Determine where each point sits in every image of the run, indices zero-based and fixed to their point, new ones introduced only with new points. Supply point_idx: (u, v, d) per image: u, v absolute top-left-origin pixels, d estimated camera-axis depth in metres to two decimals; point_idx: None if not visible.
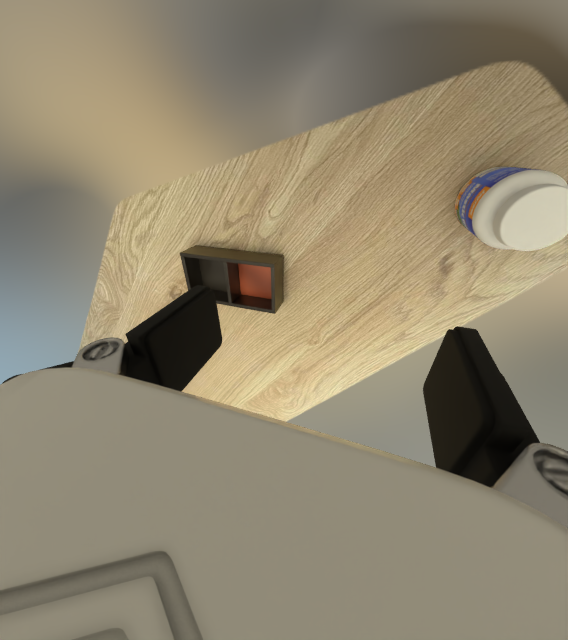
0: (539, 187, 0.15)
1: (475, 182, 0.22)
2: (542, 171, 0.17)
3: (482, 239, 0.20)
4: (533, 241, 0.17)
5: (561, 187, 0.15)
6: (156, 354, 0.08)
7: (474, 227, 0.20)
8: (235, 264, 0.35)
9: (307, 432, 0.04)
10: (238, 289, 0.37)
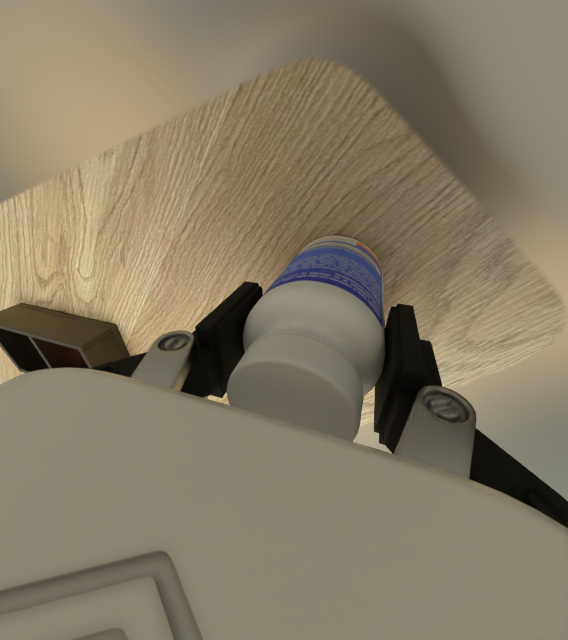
0: (266, 353, 0.07)
1: None
2: (317, 292, 0.08)
3: None
4: None
5: (298, 366, 0.06)
6: (221, 346, 0.08)
7: None
8: None
9: (307, 432, 0.04)
10: (78, 361, 0.28)
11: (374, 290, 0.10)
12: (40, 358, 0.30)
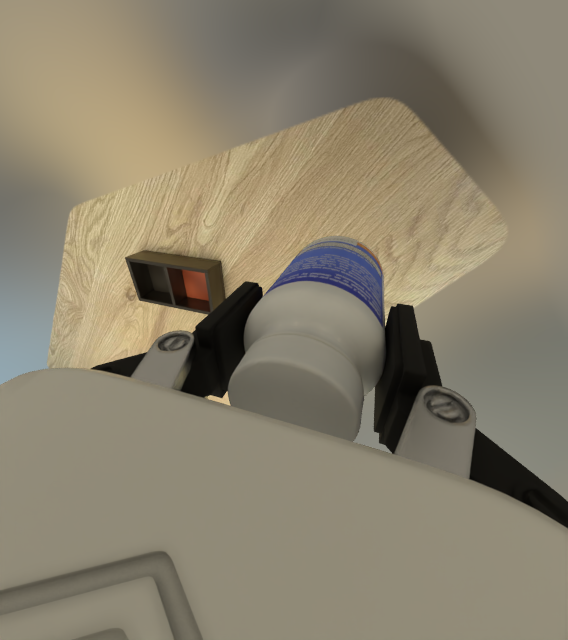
0: (267, 353, 0.07)
1: None
2: (317, 292, 0.08)
3: None
4: None
5: (299, 366, 0.06)
6: (221, 346, 0.08)
7: None
8: (178, 269, 0.37)
9: (307, 432, 0.04)
10: (183, 292, 0.39)
11: (374, 290, 0.10)
12: (151, 293, 0.41)
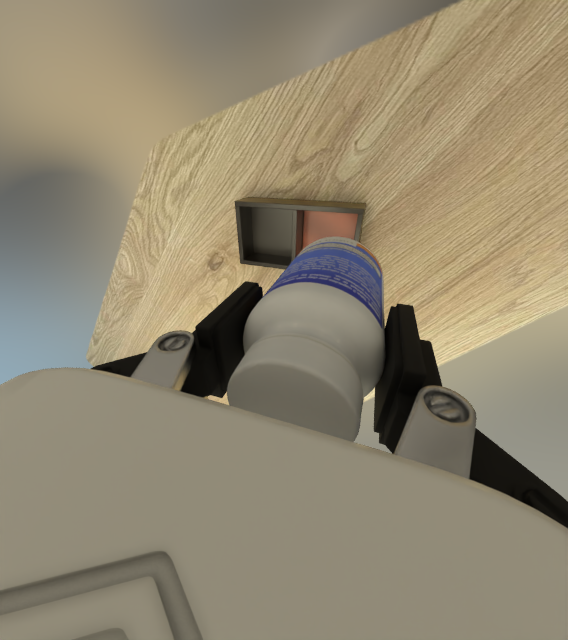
0: (266, 355, 0.07)
1: None
2: (317, 294, 0.08)
3: None
4: None
5: (298, 368, 0.06)
6: (221, 346, 0.08)
7: None
8: (302, 217, 0.28)
9: (307, 432, 0.04)
10: None
11: (374, 291, 0.10)
12: (252, 255, 0.32)
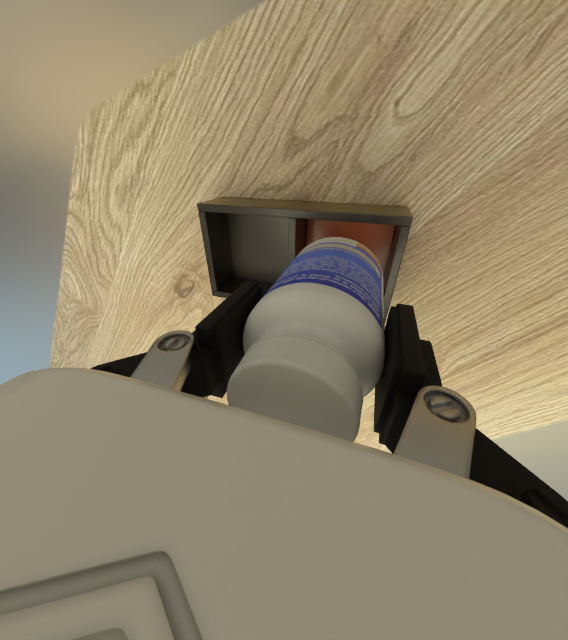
0: (266, 355, 0.07)
1: None
2: (316, 294, 0.08)
3: None
4: None
5: (297, 368, 0.06)
6: (221, 346, 0.08)
7: None
8: (304, 228, 0.18)
9: (307, 432, 0.04)
10: None
11: (374, 292, 0.10)
12: (231, 282, 0.22)
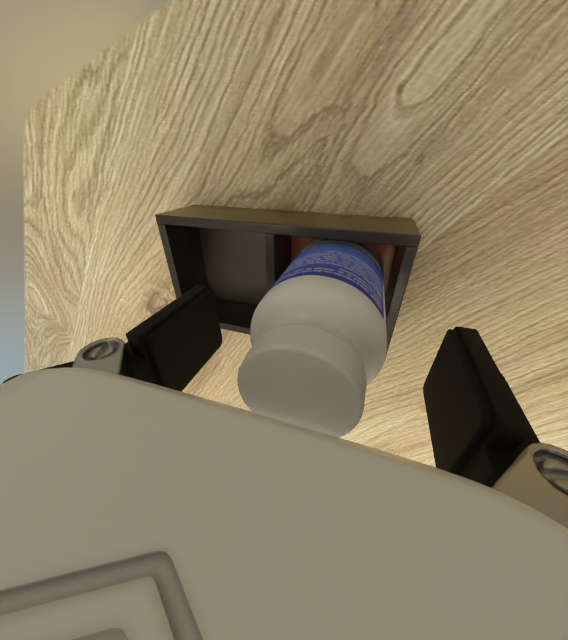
0: (275, 341, 0.07)
1: None
2: (322, 285, 0.08)
3: None
4: None
5: (306, 353, 0.07)
6: (156, 354, 0.08)
7: None
8: (287, 244, 0.15)
9: (307, 432, 0.04)
10: None
11: (375, 285, 0.10)
12: None
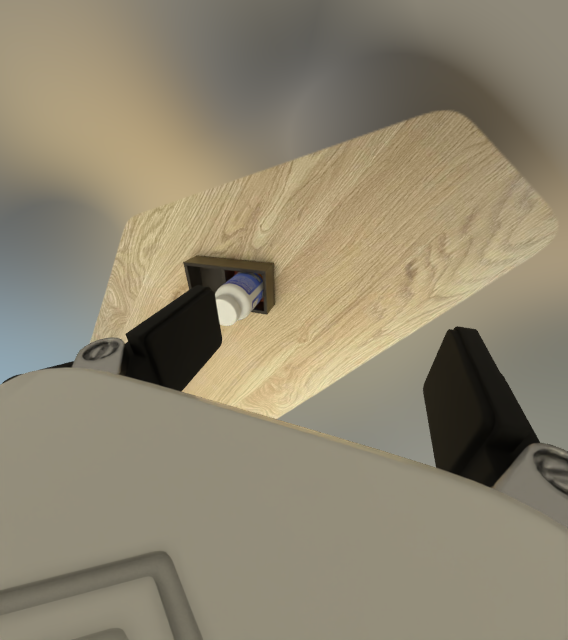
0: (216, 298, 0.32)
1: None
2: (230, 286, 0.33)
3: None
4: (225, 321, 0.33)
5: (222, 299, 0.31)
6: (156, 354, 0.08)
7: None
8: (232, 271, 0.40)
9: (307, 432, 0.04)
10: None
11: (251, 286, 0.35)
12: None
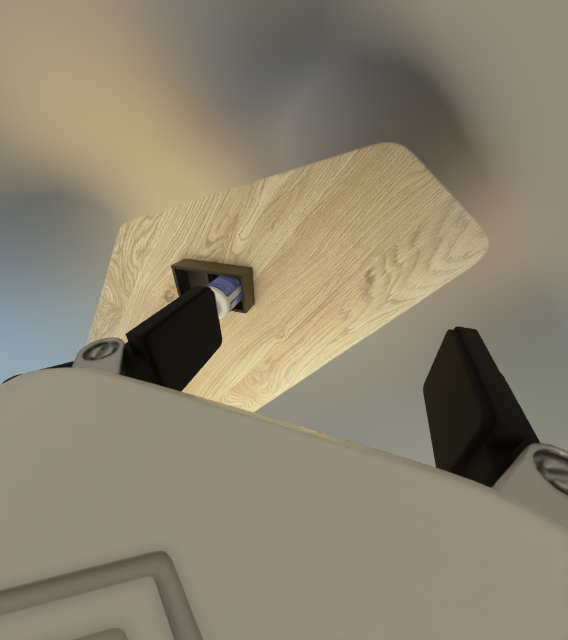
0: None
1: None
2: None
3: None
4: None
5: None
6: (156, 354, 0.08)
7: None
8: (215, 274, 0.44)
9: (307, 432, 0.04)
10: None
11: (229, 288, 0.39)
12: None
